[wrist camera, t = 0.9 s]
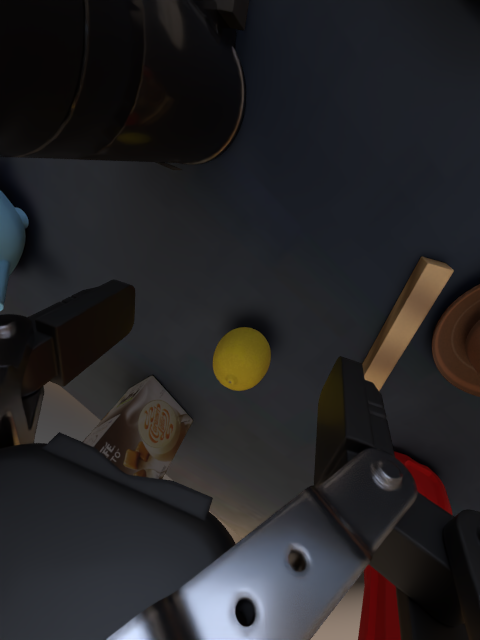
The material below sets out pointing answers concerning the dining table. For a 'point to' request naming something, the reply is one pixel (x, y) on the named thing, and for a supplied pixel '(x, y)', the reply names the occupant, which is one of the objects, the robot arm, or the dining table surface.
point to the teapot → (10, 241)
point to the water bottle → (379, 593)
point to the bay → (405, 318)
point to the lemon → (241, 358)
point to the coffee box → (142, 430)
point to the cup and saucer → (460, 342)
